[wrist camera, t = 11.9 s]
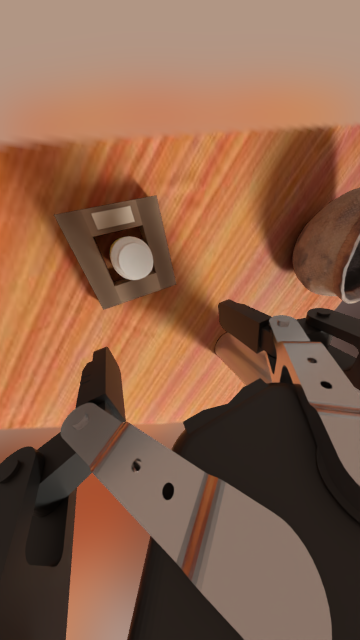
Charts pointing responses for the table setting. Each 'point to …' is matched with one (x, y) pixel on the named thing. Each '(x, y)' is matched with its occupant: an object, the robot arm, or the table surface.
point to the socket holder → (112, 219)
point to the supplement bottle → (131, 258)
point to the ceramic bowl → (331, 250)
